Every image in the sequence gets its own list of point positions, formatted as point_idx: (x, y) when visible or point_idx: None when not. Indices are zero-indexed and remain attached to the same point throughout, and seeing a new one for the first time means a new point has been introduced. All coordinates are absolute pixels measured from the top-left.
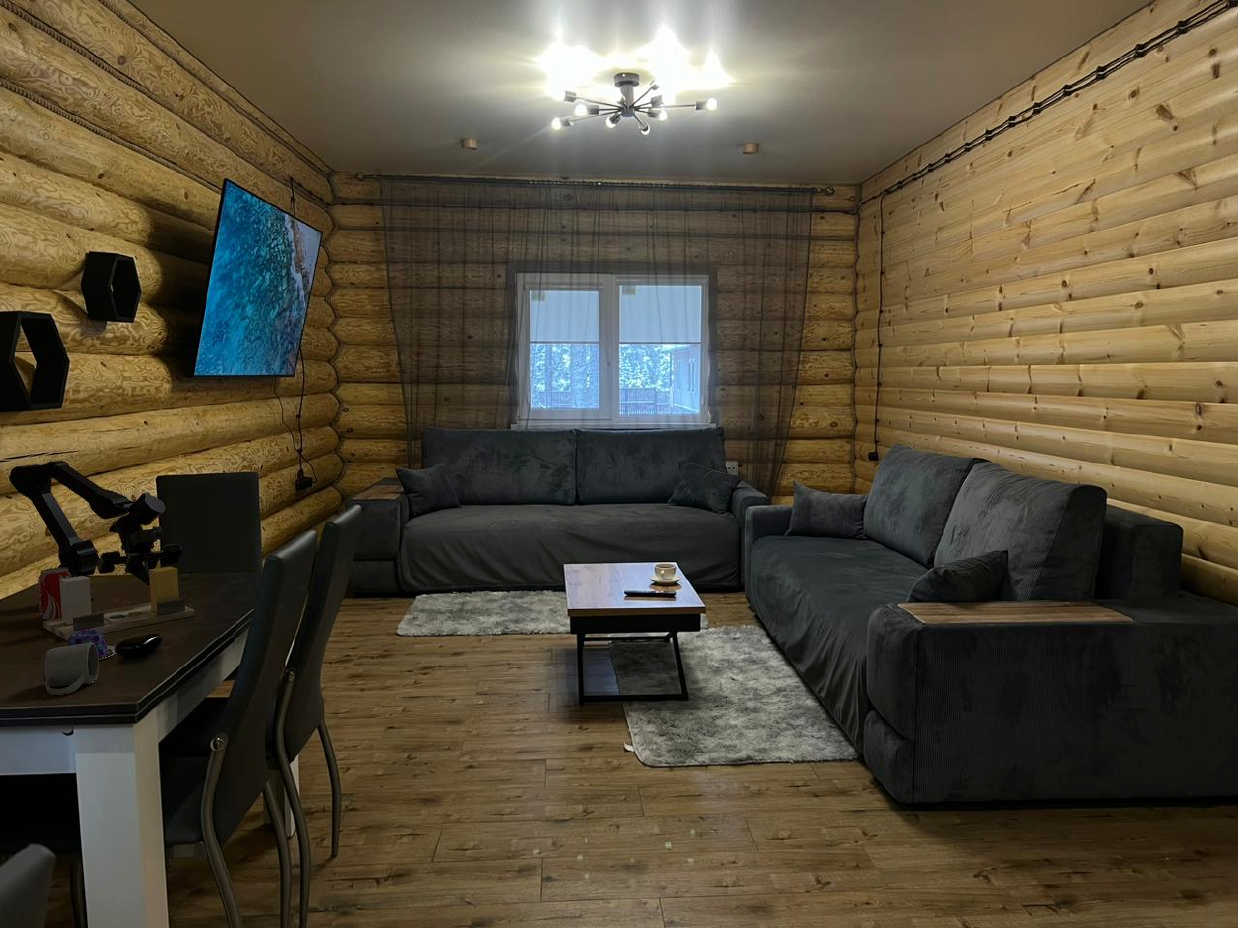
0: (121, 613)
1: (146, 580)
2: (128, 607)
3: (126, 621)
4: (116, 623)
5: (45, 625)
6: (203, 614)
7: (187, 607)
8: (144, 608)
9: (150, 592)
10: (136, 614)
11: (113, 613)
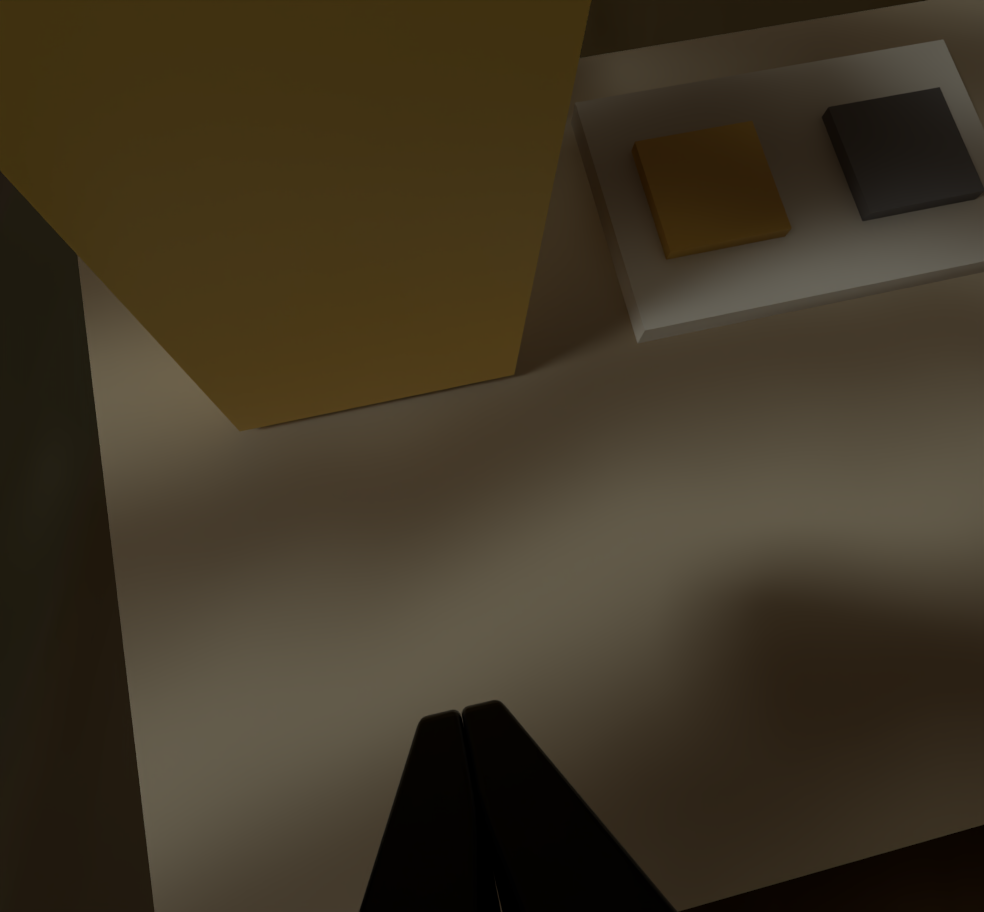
0: (847, 464)
1: (564, 783)
2: (761, 785)
3: (795, 59)
4: (888, 40)
5: None
6: (3, 183)
7: (94, 295)
8: (569, 580)
9: (535, 248)
10: (704, 135)
11: (939, 525)
